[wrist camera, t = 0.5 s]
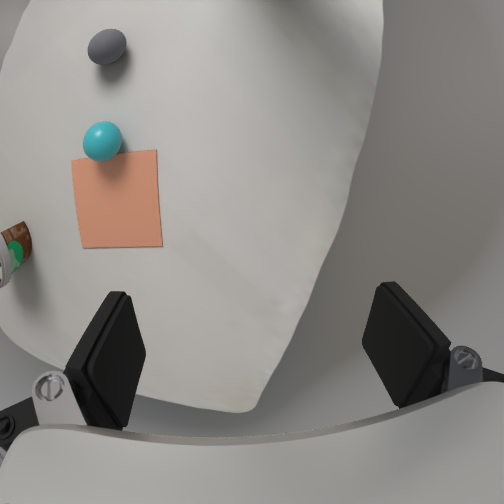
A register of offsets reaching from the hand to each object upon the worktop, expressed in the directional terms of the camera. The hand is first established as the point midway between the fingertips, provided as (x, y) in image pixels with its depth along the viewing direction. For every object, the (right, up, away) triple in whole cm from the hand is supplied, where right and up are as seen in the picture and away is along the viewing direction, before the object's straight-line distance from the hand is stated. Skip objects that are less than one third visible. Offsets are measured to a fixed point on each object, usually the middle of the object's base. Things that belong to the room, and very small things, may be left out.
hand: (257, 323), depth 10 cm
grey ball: (-20, +30, +15) cm, 39 cm away
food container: (-42, +3, +27) cm, 50 cm away
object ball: (-20, +17, +20) cm, 33 cm away
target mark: (-20, +10, +26) cm, 34 cm away
